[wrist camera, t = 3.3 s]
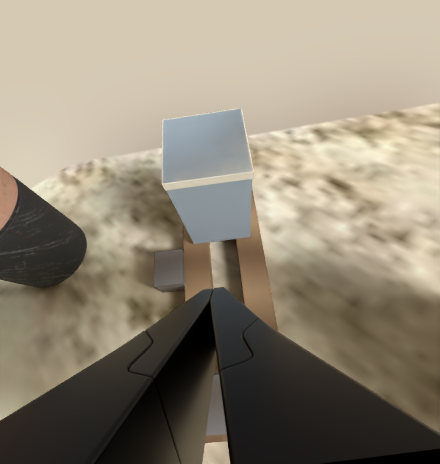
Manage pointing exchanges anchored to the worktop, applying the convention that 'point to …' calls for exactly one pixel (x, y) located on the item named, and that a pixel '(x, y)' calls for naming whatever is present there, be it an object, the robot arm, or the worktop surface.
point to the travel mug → (35, 237)
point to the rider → (209, 174)
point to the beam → (200, 277)
